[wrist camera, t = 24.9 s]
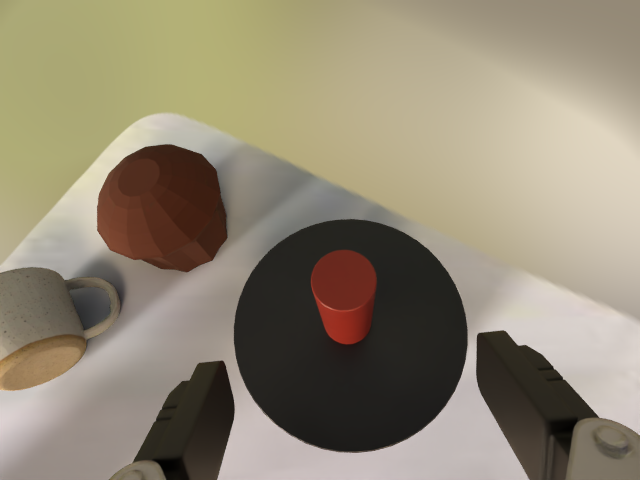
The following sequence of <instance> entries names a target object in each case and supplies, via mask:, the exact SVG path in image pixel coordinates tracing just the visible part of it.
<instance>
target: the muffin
mask: <svg viewBox="0 0 640 480" xmlns="http://www.w3.org/2000/svg"><path fill="white" fill-rule="evenodd" d="M97 231H98V232H99V234H100V235H101V237H102V238H103V240H104V241H105V243H106V244H107V246H108V247H109V249H110V250H111V251H114V252H116V253H119V254H121V255H124V256H126V257H129V258H131V259H133V260H137V259H141V260H143V261H145V262H148V263H150V264H152V265H154V266H156V267H158V268H160V269H174V270H179V271H183V272H189V271H190V270H192V269H194V268H196V267H197V266H199V265H201V264H204V263H206V262H209V261H212V260H213V259H214V257H215V255H216V253H217V251H218V250H219V248H220V247H221V245H222V244H223V243H224V242H225V240H226V239H227V232H226V212H225V209H224V206H223V202H222V199H221V196H220V187H219V182H218V177H217V171H216V169H215V168H214V167H213V166H212V165H211V164H210V163H209V162H208V161H207V160H206V158H205V157H204V156H203V155H202V154H199V153H196V152H193V151H190V150H187V149H184V148H181V147H178V146H175V145H170V144H165V145H157V146H149V147H144V148H142V149H140V150H138V151H136V152H134V153H132V154H130V155H128V156H127V157H125V158H124V159H123V160H122V161H121V162H120V163H119V164H118V165H117V166H116V167H115V168H114V169H113V170H112V171H111V172H110V173H109V174H108V176H107V178H106V180H105V182H104V185H103V187H102V189H101V191H100V193H99V198H98V206H97Z"/></svg>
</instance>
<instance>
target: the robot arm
mask: <svg viewBox="0 0 640 480" xmlns="http://www.w3.org/2000/svg"><path fill="white" fill-rule="evenodd" d="M476 376H477V382H478V387H479V390H480V392H481V395H482V397H483V398H484V400H485V402H486V404H487V405H488V407H489V409H490V411H491V412H492V414H493V416H494V418H495V419H496V421H497V423H498V425H499V427H500V428H501V430H502V432H503V434H504V435H505V437H506V439H507V441H508V442H509V444H510V446H511V448H512V449H513V451H514V453H515V455H516V456H517V458H518V460H519V462H520V463H521V465H522V467H523V469H524V471H525V472H526V474H527V476H528V478H529V479H530V480H640V436H639V435H638V434H637V433H636V432H634V431H633V430H631V429H630V428H628V427H626V426H624V425H622V424H620V423H617V422H615V421H612V420H608V419H603V418H599V417H598V416H597V414H596V413H595V412H594V411H593V410H592V409H591V408H590V407H589V406H588V405H587V403H586V402H585V401H584V400H583V399H582V398H581V397H580V396H579V395H578V394H577V392H576V391H575V390H574V389H573V388H572V387H571V386H570V385H569V384H568V383H567V381H566V380H563V377H562V376H561V375H560V374H559V373H558V372H557V370H556V369H555V370H554V368H553V366H552V365H551V364H550V363H549V362H548V361H547V359H546V358H545V357H544V356H543V355H542V354H540V353H538V352H537V351H535V350H533V349H532V348H530V347H528V346H526V345H522V346H518V345H517V344H516V343H515V342H514V341H513V339H512V338H511V337H510V336H509V335H508V333H507V332H506V331H493V332H484V333H479V334H478V335H477V363H476ZM234 410H235V408H234V399H233V394H232V390H231V386H230V382H229V378H228V374H227V370H226V366H225V363H224V362H223V361H214V362H204V363H199V364H198V365H197V366H196V368H195V370H194V372H193V374H192V376H191V379H190V381H182V382H181V383H180V384H179V385H178V386H177V387H176V388H175V389H174V390H173V391H172V392H171V393H170V394H169V395H168V397H167V399H166V401H165V403H164V405H163V407H162V410H160V412H159V414H158V416H157V418H156V422H154V423H153V425H152V427H151V429H150V431H149V433H148V435H147V437H146V439H145V440H144V442H143V444H142V446H141V448H140V450H139V452H138V454H137V455H136V457H135V459H134V461H133V463H132V464H129V465H127V466H126V467H124V468H122V469H121V470H119V471H118V472H117V473H115V474H114V475H113V476H112V477H111V478H110V479H109V480H217V478H218V474H219V471H220V467H221V464H222V460H223V456H224V453H225V449H226V446H227V442H228V438H229V435H230V431H231V428H232V424H233V420H234Z"/></svg>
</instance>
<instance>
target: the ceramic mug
mask: <svg viewBox="0 0 640 480" xmlns="http://www.w3.org/2000/svg"><path fill="white" fill-rule="evenodd" d="M82 287H100V288H103V289H105V290H106V291H107V292H108V295H109V297H110V301H111V305H110V309H111V311H110V314H109V316H108V317H107V318H105V319H104V321H102V322H100V323H98V324H97V325H95V326H94V327H91V328H89V329H87V330H84V329H83V325H82V323H81V321H80V318H79V315H78V314H77V312H76V309H75V306H74V303H73V300H72V297H71V295H70V292H69V291H70V290H72V289H77V288H82ZM120 307H121V305H120V300H119V297H118V294H117V291H116V289H115V288H114V286H113V285H112V284H111V283H109V282H108V281H106V280H103V279H99V278H94V277H81V278H74V279H70V280H64V279H63V277H62V276H61V275H59V274H58V273H57V272H55V271H53V270H50V269H45V268H33V267H31V268H21V269H14V270H10V271H6V272H2V273H0V390H7V391H15V390H23V389H27V388H31V387H34V386H37V385H40V384H43V383H45V382H48V381H50V380H52V379H54V378H56V377H58V376H59V375H61V374H63V373H64V372H66V371H67V370H69V369H70V368H71V367H73V366H74V365H75V364H76V363H77V362H78V361H79V360H80V359H81V357H82V356H83V354H84V352H85V350H86V341H87V339H90V338H92V337H95V336H97V335H99V334H101V333H102V332H104V331H105V330H107V329H108V328H109V327H110V326H111V325H113V323H114V322H115V321H116V319H117V318H118V316H119V312H120Z"/></svg>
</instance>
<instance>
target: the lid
mask: <svg viewBox="0 0 640 480" xmlns="http://www.w3.org/2000/svg"><path fill="white" fill-rule="evenodd" d="M467 345H468V341H467V323H466V316H465V311H464V307H463V304H462V300H461V297H460V295H459V293H458V290H457V288H456V286H455V284H454V282H453V280H452V279H451V277H450V275H449V273H448V272H447V270H446V269H445V268H444V267H443V265H442V264H441V263H440V261H439V260H438V259H437V258H436V257H435V256H434V255H433V254H432V253H431V252H430V251H429V250H428V249H427V248H425V247H424V246H423V245H422V244H421V243H419V242H418V241H417V240H415V239H413V238H412V237H410V236H409V235H407V234H405V233H403V232H401V231H399V230H397V229H395V228H392V227H389V226H386V225H383V224H380V223H376V222H371V221H365V220H355V219H347V220H334V221H327V222H323V223H319V224H315V225H312V226H309V227H307V228H304V229H302V230H300V231H298V232H296V233H294V234H292V235H290V236H288V237H287V238H286V239H284V240H283V241H281V242H280V243H278V244H277V245H276V246H275V247H274V248H272V249H271V250H270V251H269V252H268V253H267V254H266V255H265V256H264V257H263V259H262V260H261V261H260V262H259V263H258V265H257V266H256V267H255V269H254V270H253V272H252V273H251V275H250V277H249V278H248V280H247V282H246V284H245V286H244V288H243V291H242V293H241V296H240V299H239V302H238V306H237V310H236V315H235V323H234V346H235V354H236V359H237V363H238V367H239V370H240V374H241V376H242V378H243V381H244V383H245V386H246V388H247V389H248V391H249V393H250V394H251V396H252V398H253V400H254V401H255V403H256V404H257V405H258V406H259V408H260V409H261V410H262V411H263V413H264V414H265V415H266V416H267V417H268V418H269V419H270V420H271V421H272V422H274V423H275V424H276V425H277V426H278V427H279V428H281V429H282V430H284V431H285V432H286V433H288V434H289V435H291V436H293V437H295V438H296V439H298V440H300V441H302V442H304V443H306V444H309V445H312V446H315V447H318V448H321V449H325V450H330V451H336V452H349V453H359V452H368V451H375V450H379V449H383V448H386V447H390V446H393V445H395V444H397V443H400V442H402V441H404V440H406V439H408V438H410V437H411V436H413V435H414V434H416V433H418V432H419V431H421V430H422V429H423V428H424V427H426V426H427V425H428V424H429V423H430V422H431V421H432V420H434V419H435V418H436V416H437V415H438V414H439V413H440V412H441V411H442V409H443V408H444V407H445V406H446V404H447V403H448V401H449V399H450V398H451V396H452V395H453V393H454V391H455V389H456V387H457V385H458V382H459V380H460V378H461V375H462V371H463V368H464V364H465V360H466V353H467Z"/></svg>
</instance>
